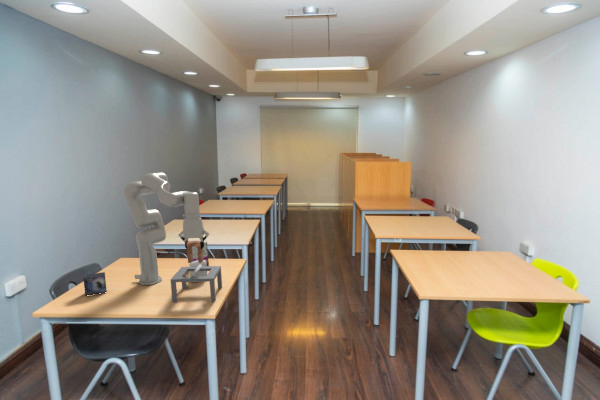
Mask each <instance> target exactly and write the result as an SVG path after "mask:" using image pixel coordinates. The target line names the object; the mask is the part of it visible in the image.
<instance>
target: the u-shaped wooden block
mask: <svg viewBox="0 0 600 400" xmlns="http://www.w3.org/2000/svg"><path fill="white" fill-rule="evenodd" d="M200 242H201V240H188V242H187V250H186V252H187V263H188V264H190V263H191V262H192V261H193V253H192V247H196V246H197V248H198V263H202V261H203V249H201V246H200Z"/></svg>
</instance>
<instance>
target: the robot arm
mask: <svg viewBox="0 0 600 400" xmlns="http://www.w3.org/2000/svg"><path fill="white" fill-rule="evenodd" d="M170 189H171V185H170V182H169V178H168V176H167V174H165V173H164V172H160V171H159V172H149V173H145V174H144V175H142V177H141V179H140V180H135V181H131V182H129V183H127V184H125V186H124V191H123V193H124V197H125V199H126V201H127V204H128V205H129V208H130V213H131V216H132V220H133V223H134V225H135V227H136V228H139V229H142V228H145V229H142V230H139V231H138V232H137V233H136V235H135V241H136V245H137V249H138V254H139V255H138V256H139V267H140V268H139V269H140V274H135V275H134V278H135V280H138V279H139V280H138V283H139V285H141V286H142V285H143V286H151V285H155V284H158V283H160V282H162V276H161V275H159V266H158V255H157V250H156V248H155V247H154V246H153V245H154V244H159V243H161V242H164V241H165V240H166V237H167V232H166V227H165V223H164V220H163V217H162V214H161V212H160V211H159V210H158V209H156V208H155V209H154V208H152V209H147V205H146V202H145V201H144V200H143V198H142V197H141V196H146V195H151V194H153V195H154V194H156V197H157V199H158V200H159V202H160V203H161V204H163V205H164V206H167V207H168V208H176V207H181V206H182V207H184V208H183V210H184V212H183V213H182V217H183V221H182V231H181V232H180V233H178V237H179V238H180V239H181V240H182V241H183V242H184V248H185V250H186V251H187V242H188V241H189V239H199V241H201V242H200V246H201V249H203V247H204V241H206V239H207V238H208V237H209V235H210V233H209V232H208V231H206V230H205V227H204V222H203V218H202V217H201V212H200V200H199V199H200V198H199V193H198V192H196V191H188V190H181V191H173V192H169V191H170ZM146 227H149V228H146ZM150 227H151V228H150Z"/></svg>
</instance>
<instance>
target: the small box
mask: <svg viewBox="0 0 600 400" xmlns="http://www.w3.org/2000/svg"><path fill="white" fill-rule="evenodd" d="M83 286H84V294H85V295H84V297H85V296H87V295H93V294H98V295H100V294H99V293H104V294H106V293H105V292H107V293H108V291H107V290H106V289H107V281H106V273H105V271H103V272H97V273H89V274H85V275H83ZM93 296H94V295H93ZM87 297H88V296H87Z"/></svg>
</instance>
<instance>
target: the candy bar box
mask: <svg viewBox="0 0 600 400" xmlns="http://www.w3.org/2000/svg"><path fill="white" fill-rule="evenodd" d="M192 253H193V261H196V260H198V248H197V246H196V247H192ZM203 260H205V261H206V263H207V266H210V264H209V262H210V261H209V250H208V242H207V240H204V247H203ZM193 261H192V262H193Z"/></svg>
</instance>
